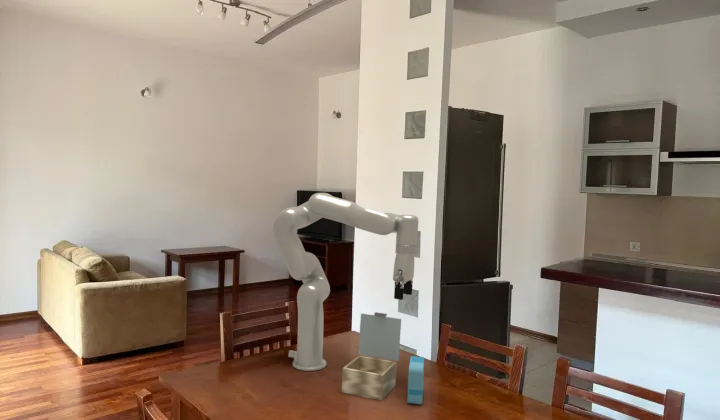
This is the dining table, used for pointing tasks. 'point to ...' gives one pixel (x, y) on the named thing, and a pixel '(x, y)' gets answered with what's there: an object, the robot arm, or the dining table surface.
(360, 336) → the box lid
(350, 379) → the open box
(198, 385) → the dining table surface
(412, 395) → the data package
